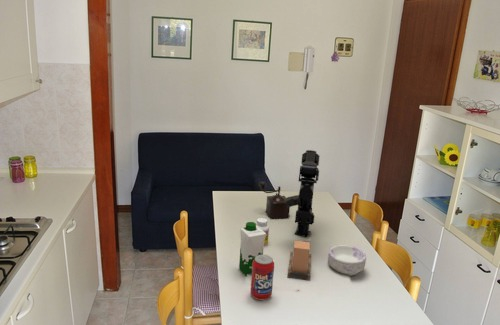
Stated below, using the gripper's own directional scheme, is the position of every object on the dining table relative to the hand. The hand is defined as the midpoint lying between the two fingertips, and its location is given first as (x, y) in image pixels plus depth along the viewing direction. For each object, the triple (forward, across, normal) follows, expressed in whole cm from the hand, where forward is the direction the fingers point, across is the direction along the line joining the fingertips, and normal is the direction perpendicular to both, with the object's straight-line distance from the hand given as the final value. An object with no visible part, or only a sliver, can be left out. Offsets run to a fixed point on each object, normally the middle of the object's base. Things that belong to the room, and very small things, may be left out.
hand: (303, 224), depth 184 cm
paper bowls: (+12, +13, +19) cm, 26 cm away
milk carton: (+12, +25, -19) cm, 34 cm away
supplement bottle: (+12, +2, -18) cm, 22 cm away
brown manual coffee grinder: (+12, -34, -17) cm, 40 cm away
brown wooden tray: (+12, +19, 0) cm, 23 cm away
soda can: (+12, +40, -13) cm, 44 cm away
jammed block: (+10, +23, 0) cm, 25 cm away
